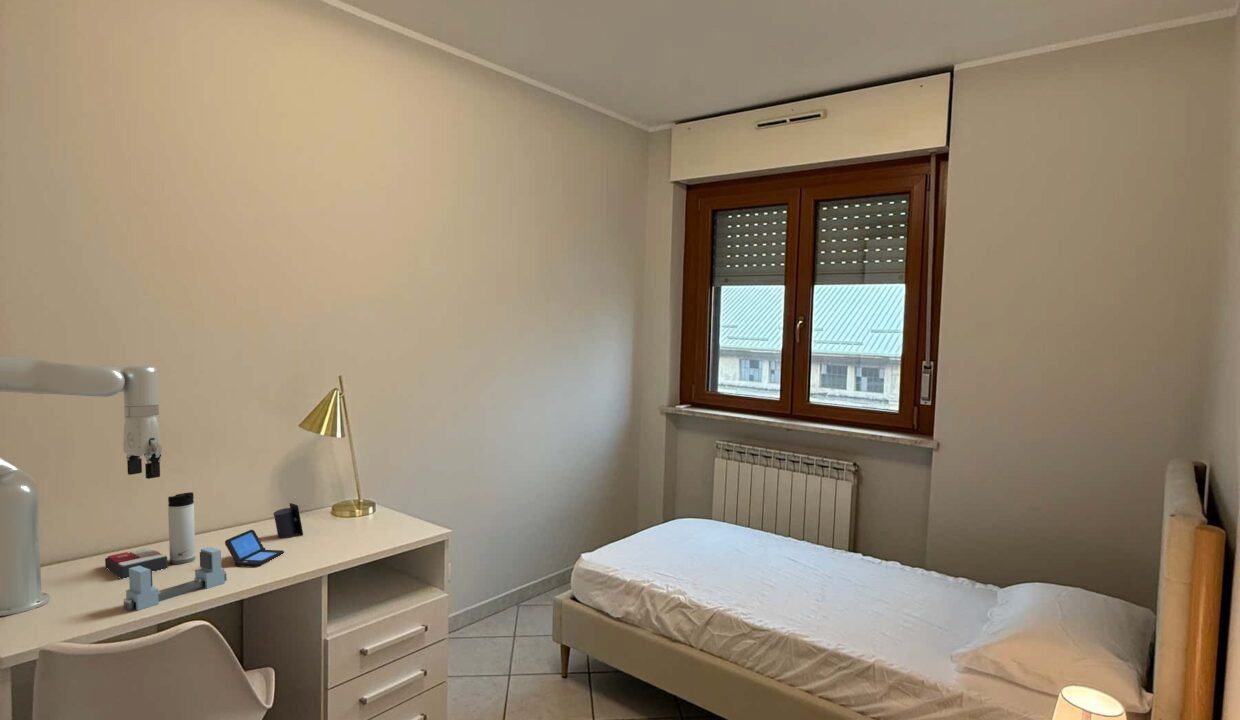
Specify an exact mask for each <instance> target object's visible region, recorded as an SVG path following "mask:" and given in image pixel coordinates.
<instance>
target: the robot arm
mask: <svg viewBox="0 0 1240 720" xmlns="http://www.w3.org/2000/svg"><path fill="white" fill-rule="evenodd" d="M0 392H2V393H15V394H16V393H17V394H34V395H64V396H82V397H83V396H84V397H99V398H100V397H102V398H104V397H105V398H106V397H113V396H115V395H117V394H119V393H121V392H122V393H123V410H124V411H123V414H124V424H123V443H122V444H123V445H122V446H123V448H122V449H123V453H124V454H126V463H127V464H126V465H127V466H126V467H127V475H129V476H131V475H137V474H141V473H142V472H143V467H142V466H143V463H142V462H143V461H142V458H141V457H142V456H144V460H145V461H146V463H145V464H144V465H145V466H144V467H145V468H144V469H145V479H148V480H150V479H155V478H160V477H161V463H160V462H161V457H162V451H163V450H162V446H161V437H160V436H161V435H160V428H159V421H158V418H159V417H160V406H159V405H160V404H159V402H160V401H159V375H158V369H157V367H156V366H154V365H131V366H130V365H129V366H114V365H113V366H111V365H99V366H95V365H93V366H92V365H84V364H83V365H81V364H69V363H68V364H67V363H62V362H61V363H59V362H54V361H49V360H45V359H39V358H32V357H31V358H28V357H14V356H0ZM37 485H38V484H37V482H36V480H35V479H34V478H33V477H32V476H31V475H30V474H28V473H27V472H25V471H23V470H22V469H20V467H17V466H16V465H14V464H13V463H11V462H9V461H7V460H6V459H5V458H3V457H1V456H0V617H2V616H11V615H17V614H20V613H25V612H28V611H32V610H34V609H37V608H39V607H42V606H44V605H46V604H47V603H48V602H49V601H50V599H51V595H50V593H48V592H45V591H44V592H43V591H42V575H41V574H42V571H41V550H40V549H41V547H40V546H41V545H40V544H41V543H40V526H39V525H40V524H39V519H40V517H39V491H38V486H37Z"/></svg>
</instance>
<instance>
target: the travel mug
mask: <svg viewBox="0 0 1240 720" xmlns="http://www.w3.org/2000/svg"><path fill="white" fill-rule="evenodd" d="M194 498H195V497H194V492H184V493H183V492H182V493H178V494H175V495H173V496H168V497H167V502H168V503H167V504H168V505H167V507H168V508H167V511H168V538H169V539H168V542H169V545H168V546H169V547H168V548H169V563H170V564H172V565H183V563H184V564H188V563H191V562H193V561H195V560H196V530H195V529H196V527H195V525H196V523H195V505H194V504H195V501H194Z"/></svg>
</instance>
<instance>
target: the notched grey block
mask: <svg viewBox="0 0 1240 720" xmlns="http://www.w3.org/2000/svg"><path fill="white" fill-rule="evenodd" d="M199 567H200V568H198V569H195V570H194V572H195V573H194V576H195V577H194V578H196V577H197V578H200V579H202V580H203V581H205V587H204V588H205V589H210V588H214V587H216V586H219V585H223V584H226V581H225V575H224V571H225V568H223V567H222V550H221V549H218V548H214V547H211V546H208V547H207V546H206V547H204V548H200V552H199Z"/></svg>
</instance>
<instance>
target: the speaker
mask: <svg viewBox="0 0 1240 720" xmlns="http://www.w3.org/2000/svg"><path fill="white" fill-rule="evenodd" d="M273 517H274V523H275V527H276V533H277V536H278V537H277V538H279V539H282V538H283V539H285V538H290V537H292V536H294V535H296V534H297V535H299V534H300V536H302V535H303V536H304V533H303V526H302V522H301V521H302V520H301V515H300V509H299V505H297V504H294V503H292V502H290V503H289V507H285V508H282V509H278V510H276V511H275V512H273Z"/></svg>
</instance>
